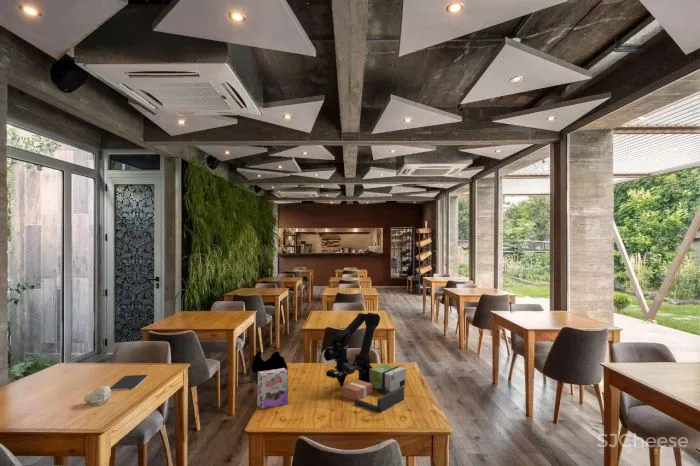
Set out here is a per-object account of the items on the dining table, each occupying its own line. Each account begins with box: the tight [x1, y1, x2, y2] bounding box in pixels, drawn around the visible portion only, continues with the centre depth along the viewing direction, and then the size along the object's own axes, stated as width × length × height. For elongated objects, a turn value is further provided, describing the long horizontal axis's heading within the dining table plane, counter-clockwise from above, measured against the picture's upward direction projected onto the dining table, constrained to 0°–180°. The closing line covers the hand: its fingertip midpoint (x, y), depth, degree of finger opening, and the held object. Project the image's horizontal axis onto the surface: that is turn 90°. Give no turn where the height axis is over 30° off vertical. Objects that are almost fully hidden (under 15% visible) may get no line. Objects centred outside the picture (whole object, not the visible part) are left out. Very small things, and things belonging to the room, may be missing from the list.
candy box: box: [256, 368, 289, 410], centre depth 193 cm, size 14×6×16 cm, turn 117°
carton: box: [341, 379, 374, 401], centre depth 206 cm, size 10×13×5 cm
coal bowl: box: [250, 350, 289, 386], centre depth 217 cm, size 20×20×19 cm
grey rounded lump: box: [83, 385, 112, 407], centre depth 194 cm, size 6×8×12 cm
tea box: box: [369, 362, 407, 392], centre depth 218 cm, size 15×10×15 cm
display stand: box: [353, 386, 405, 414], centre depth 197 cm, size 16×21×6 cm
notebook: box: [110, 374, 148, 392], centre depth 222 cm, size 13×2×21 cm
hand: (341, 386), depth 213 cm, fingers closed
